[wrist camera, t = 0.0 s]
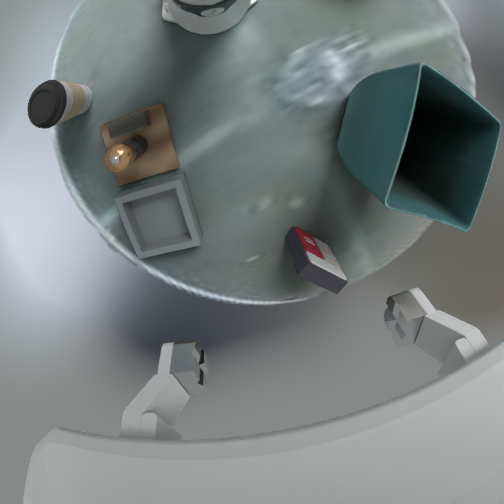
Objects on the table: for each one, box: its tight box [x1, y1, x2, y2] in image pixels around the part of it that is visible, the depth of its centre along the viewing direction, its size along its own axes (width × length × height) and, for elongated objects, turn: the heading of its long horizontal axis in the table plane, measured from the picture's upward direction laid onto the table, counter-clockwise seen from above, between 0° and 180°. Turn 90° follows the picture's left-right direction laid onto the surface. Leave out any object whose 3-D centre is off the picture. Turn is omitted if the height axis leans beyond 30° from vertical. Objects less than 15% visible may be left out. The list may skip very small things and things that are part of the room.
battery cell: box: [105, 135, 148, 172], centre depth 43 cm, size 4×4×13 cm
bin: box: [114, 172, 203, 259], centre depth 56 cm, size 15×15×5 cm
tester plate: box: [100, 103, 180, 186], centre depth 47 cm, size 14×14×4 cm
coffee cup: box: [28, 80, 92, 128], centre depth 35 cm, size 9×9×15 cm
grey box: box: [286, 227, 348, 294], centre depth 59 cm, size 11×4×15 cm, turn 59°
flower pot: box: [337, 62, 501, 231], centre depth 39 cm, size 20×20×28 cm
